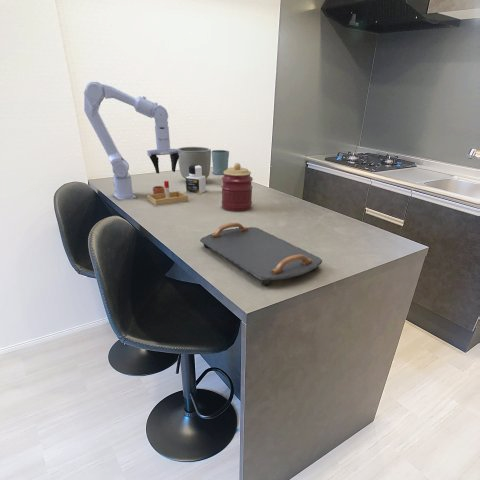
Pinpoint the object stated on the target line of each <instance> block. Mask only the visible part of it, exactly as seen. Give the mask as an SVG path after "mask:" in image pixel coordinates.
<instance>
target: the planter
mask: <svg viewBox="0 0 480 480" xmlns="http://www.w3.org/2000/svg"><path fill="white" fill-rule="evenodd" d="M177 149H180V154H178V155H179V158H178V161H177V163H178V167H179V173H180V176H181V177H182V178H183V179H184V180H186V177H188V176H190V175H189V166H191V165H199V166H201V167H202V176H205V179H207V178H208V177H209V176H210V172H211V163H212V152H211V151H212V150H211V148H209V147H203V146H183V147H178V148H177Z"/></svg>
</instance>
